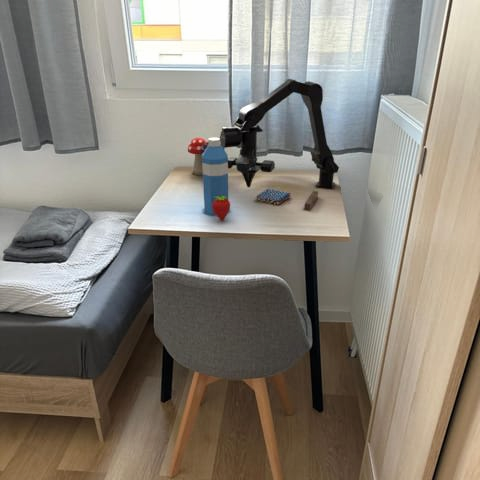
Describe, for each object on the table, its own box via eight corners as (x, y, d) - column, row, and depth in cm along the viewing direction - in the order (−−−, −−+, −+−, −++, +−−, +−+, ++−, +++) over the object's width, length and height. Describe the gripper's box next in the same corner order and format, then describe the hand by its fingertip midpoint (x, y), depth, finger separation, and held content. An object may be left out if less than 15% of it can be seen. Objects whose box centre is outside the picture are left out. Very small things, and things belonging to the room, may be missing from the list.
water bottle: (233, 207, 178) (232, 136, 164) (224, 217, 171) (222, 143, 157) (209, 204, 181) (206, 134, 167) (199, 213, 174) (195, 141, 160)
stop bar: (312, 197, 187) (312, 190, 186) (317, 197, 187) (318, 191, 185) (304, 209, 176) (304, 203, 175) (309, 210, 176) (310, 203, 175)
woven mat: (266, 192, 192) (267, 187, 191) (291, 197, 187) (291, 192, 186) (254, 200, 184) (254, 195, 183) (279, 205, 180) (279, 200, 179)
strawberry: (209, 223, 166) (207, 194, 161) (218, 215, 172) (217, 187, 167) (224, 225, 164) (224, 197, 159) (233, 218, 170) (233, 190, 165)
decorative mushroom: (214, 171, 215) (213, 136, 206) (206, 177, 208) (205, 141, 200) (194, 169, 218) (192, 134, 209) (185, 175, 211) (183, 139, 203)
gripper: (217, 148, 174) (218, 191, 183) (267, 152, 169) (266, 196, 177) (227, 141, 183) (228, 182, 191) (275, 144, 178) (274, 186, 186)
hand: (248, 187), depth 186 cm, fingers closed
